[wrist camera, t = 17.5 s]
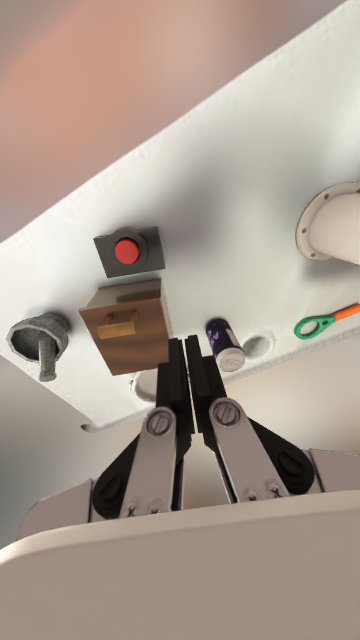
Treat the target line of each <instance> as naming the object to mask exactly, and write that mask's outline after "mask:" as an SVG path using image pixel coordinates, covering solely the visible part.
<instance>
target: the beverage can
mask: <svg viewBox="0 0 360 640" xmlns="http://www.w3.org/2000/svg"><path fill="white" fill-rule="evenodd" d="M206 334H207V337H208V340H209V343H210V346H211V349H212V352H213V355H214V357H215V360H216V363H217V365H218V366H219V367H220V369H221V370H223V371H225V372H233V371H236V370H238V369H240V368H241V367H242V366H243V365H244V362H245V358H244V352H243V350H242V348H241V346H240V344H239V342H238V340H237V339H236V337H235V335H234V333H233V331H232V329H231V327H230V326H229V324H228V322H227V321H225V320H223V319H216V320H213V321H211V322H210V323H209V324H208V325H207V327H206Z"/></svg>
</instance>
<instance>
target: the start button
mask: <svg viewBox="0 0 360 640" xmlns="http://www.w3.org/2000/svg"><path fill="white" fill-rule="evenodd" d="M115 254H116V257H117V258H118V260H119V261H121V262H122V263H125V264H131V263H133V262H135V261H136V259H137V257H138V255H139V248H138V246H137V244H136V243H135V242H134V241H132V240H130V239H123V240H121V241H120V242H119V243H118V244H117V245H116V247H115Z"/></svg>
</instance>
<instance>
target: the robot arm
mask: <svg viewBox="0 0 360 640" xmlns="http://www.w3.org/2000/svg"><path fill="white" fill-rule="evenodd" d="M296 240H297V246H298V248H299V250H300V252H301V253H302V254H303V255H304V256H305V257H307V258H310V259H312V260H316V261H323V260H328V259H331V258H334V257H335V258H339V259H342V260H345V261H348V262H351V263H354V264H357V265H360V184H357V183H353V182H352V183H342V184H337V185H334V186H332V187H330V188H328V189H326V190H325V191H323V192H322V193H320V194H319V195H318V196H317V197H316V198H315V199H314V200H313V201H312V202H311V203H310V204H309V206H308V207H307V208H306V210H305V211H304V213H303V215H302V217H301V219H300V222H299V224H298V228H297V235H296ZM185 347H186V354H187V362H188V369H189V377H190V384H191V392H192V399H193V405H194V410H195V416H196V421H197V428H198V432H199V433H203V437H204V443H205V445H206V446H208V447H209V448H210V449H211V450H212V451H213V454H214V457H215V459H216V463H217V466H218V469H219V472H220V475H221V478H222V481H223V484H224V487H225V490H226V493H227V496H228V500H229V503H230V504H227V505H220V506H213V507H204V508H196V509H189V510H183V499H184V481H185V460H186V452H187V451H188V450H189V448H190V447H191V441H192V439H191V434H195V429H194V421H193V415H192V414H193V413H192V405H191V397H190V389H189V381H188V374H187V368H186V362H185V356H184V350H183V345H182V339H181V340H178V337H177V338H171V339H168V357H169V362H164V363H158V370H157V389H156V408H154V409H152V410H151V411H150V412H148V414H147V415H146V416H145V418H144V421H143V424H142V428H141V432H140V434H139V435H138V436H137V437H136V438H135V439H134V440H133V441H132V442H131V443H130V444H129V445H128V446H127V447H126V449H125V450H124V451H123V452H122V453H121V454H120V455H119V456H118V457H117V458H116V459H115V460H114V461H113V462H112V464H111V465H110V466H109V467H108V468H107V469H106V470H105V471H104V472H103V473H102V474H101V476H100V477H98V478H96V479H94V480H93V479H92V478H90V479H88V480H86V481H83V482H81V483H78V484H76V485H74V486H71V487H69V488H66V489H64V490H62V491H59V492H57V493H55V494H52V495H50V496H47V497H45V498H43V499H41V500H39V501H38V502H36V503H35V504H34V505H33V506H32V507H31V508H30V509H29V511H28V512H27V514H26V515H25V517H24V518H23V521H22V523H21V526H20V528H19V531H18V535H17V538H16V541H15V542H14V543H12V544H11V545H9V546H7V547H5V548H3V549H2V550H0V640H360V454H352V453H344V452H334V451H326V450H318V449H309V450H301V449H299V448H298V447H296V446H295V445H293V444H291V443H290V442H288V441H286V440H285V439H283V438H282V437H280V436H278V435H277V434H275V433H273V432H272V431H270V430H268V429H267V428H265V427H264V426H262V425H260V424H259V423H257V422H255V421H254V420H252V419H250V418H248V417H247V416H246V414H245V412H244V410H243V409H242V407H241V406H240V404H239V403H238V402H236V401H235V400H233V399H231V398H227V395H226V392H225V388H224V385H223V382H222V379H221V376H220V372H219V369H218V366H217V363H216V360H215V357H214V355H211V356H205V357H202V354H201V350H200V346H199V341H198V337H197V335H191V336H188V338H187V339H185Z"/></svg>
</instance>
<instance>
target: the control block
mask: <svg viewBox="0 0 360 640" xmlns="http://www.w3.org/2000/svg"><path fill="white" fill-rule="evenodd" d="M123 239H130V240H132V241H134V242H135V243H136V244H137V246H138V248H139V255H138V257H137V259H136V261H135V262H133V263H131V264H125V263H122V262H121V261H119V260H118V258H117V257H116V254H115V247H116V245H117V244H118V243H119V242H120V241H121V240H123ZM93 240H94V243H95V245H96V248H97V251H98V253H99V256H100V259H101V262H102V264H103V267H104V270H105V273H106V275H107V278H112V277H118V276H124V275H130V274H136V273H142V272H148V271H154V270H160V269H165V263H164V258H163V252H162V247H161V242H160V236H159V231H158V227H153V228H147V229H141V230H134V229H131V228H123V229H118V230H117V231H116V232H115V233H114V234H112V235H106V236H100V237H96V238H94V239H93Z"/></svg>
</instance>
